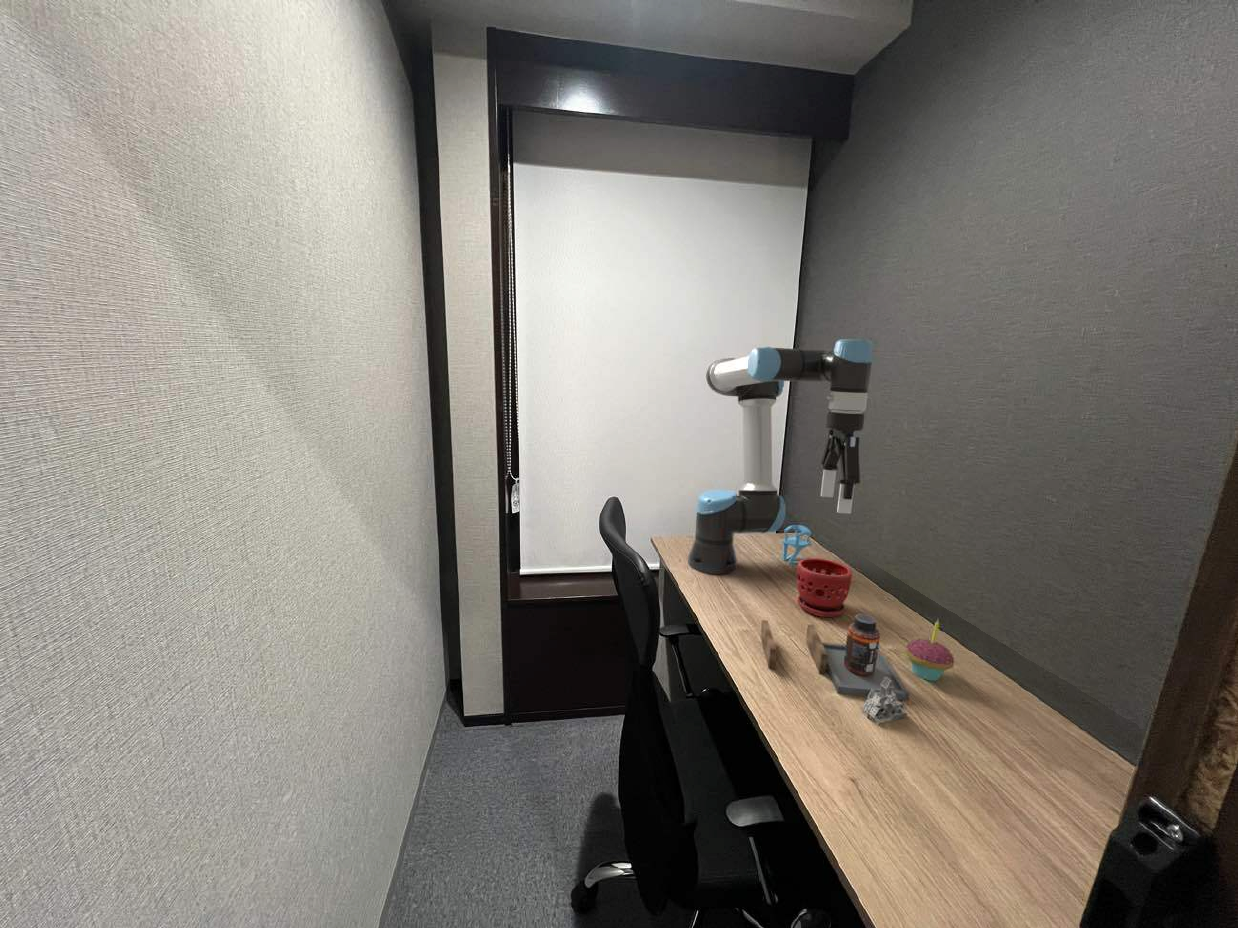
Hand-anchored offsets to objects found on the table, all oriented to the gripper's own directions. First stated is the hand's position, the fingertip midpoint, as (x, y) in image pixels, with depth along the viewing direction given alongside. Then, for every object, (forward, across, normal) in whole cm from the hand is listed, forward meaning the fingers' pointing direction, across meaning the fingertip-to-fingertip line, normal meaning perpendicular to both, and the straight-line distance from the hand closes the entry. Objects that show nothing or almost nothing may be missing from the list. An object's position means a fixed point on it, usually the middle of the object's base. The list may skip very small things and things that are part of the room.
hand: (834, 504), depth 114 cm
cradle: (+32, +12, -9) cm, 35 cm away
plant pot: (+32, -12, +3) cm, 34 cm away
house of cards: (+32, +26, +4) cm, 42 cm away
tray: (+32, +16, +4) cm, 36 cm away
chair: (+32, -44, +3) cm, 54 cm away
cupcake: (+32, +14, +18) cm, 39 cm away
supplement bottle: (+31, +16, +4) cm, 35 cm away
